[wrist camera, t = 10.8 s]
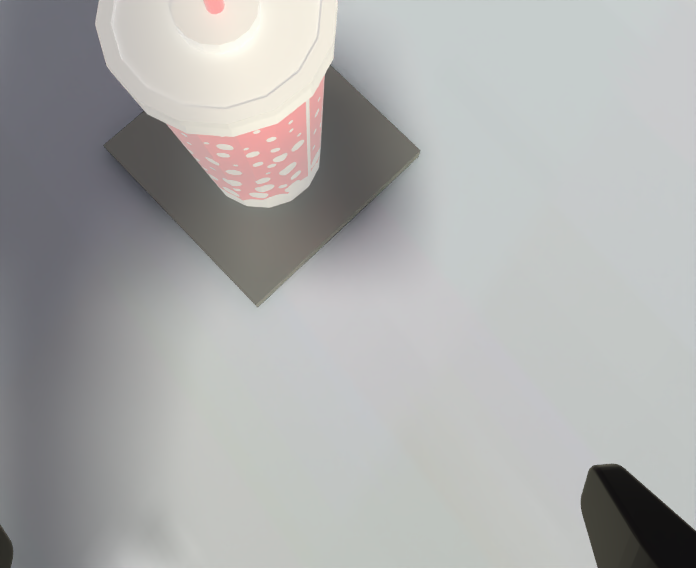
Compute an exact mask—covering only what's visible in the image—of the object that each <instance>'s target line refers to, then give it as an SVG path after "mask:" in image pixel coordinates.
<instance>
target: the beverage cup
mask: <svg viewBox="0 0 696 568" xmlns="http://www.w3.org/2000/svg"><path fill="white" fill-rule="evenodd" d="M337 9H338V0H99V3H98V9H97V15H96V21H95V26H96V30H97V34H98V37H99V41H100V44H101V48H102V51H103V55H104V58H105V62H106V65H107V67H108V69H109V70H110V71H111V73H112V74H113V75H114V76H115V77H116V78H117V80H118V81H119V82H120V83H121V84H122V85H123V87H124V88H125V89H126V90H127V91H128V92H129V94H130V95H131V96H132V97H133V98H134V99H135V100H136V102H137V103H138V104H139V105H140V106H141V107H142V109H143V110H144V111H145V112H146V113H147V114H148V115H150V116H152V117H154V118H156V119H158V120H160V121H162V122H164V123H166V124H167V125H168V127H169V128H170V129H171V130H172V132H173V133H174V134H175V135H176V136H177V138H178V139H179V140H180V141H181V142H182V144H183V145H184V146H185V147H186V148H187V150H188V151H189V152H190V153H191V154H192V156H193V157H194V158H195V159H196V160H197V162H198V163H199V164H200V165H201V167H202V168H203V169H204V170H205V171H206V173H207V174H208V175H209V176H210V177H211V179H212V180H213V181H214V182H215V183H216V184H217V186H218V187H219V188H220V189H221V190H222V191H223V193H224V194H225V195H226V196H227V197H229V198H231V199H233V200H235V201H237V202H239V203H241V204H244V205H246V206H253V207H267V208H270V207H273V206H276V205H280V204H283V203H286V202H289V201H292V200H293V199H294V198H295V197H297V196H298V195H299V194H300V193H302V192H303V191H304V190H305V189H306V188H308V187H309V185H310V183H311V181H312V180H313V178H314V176H315V174H316V172H317V170H318V168H319V161H320V149H321V133H322V115H323V97H324V79H325V73H326V71H327V69H328V68H329V66H330V64H331V62H332V60H333V57H334V45H335V34H336V22H337Z"/></svg>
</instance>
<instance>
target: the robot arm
mask: <svg viewBox="0 0 696 568" xmlns="http://www.w3.org/2000/svg"><path fill="white" fill-rule="evenodd" d="M581 510H582V515H583V518H584V522H585V525H586V529H587V532H588V536H589V539H590V543H591V546H592V549H593V553H594V556H595V560H596V563H597V567H598V568H696V531H695V530H694V529H693V528H692V527H691V526H690V525H689V524H687V523H686V522H685V521H684V520H683V519H682V518H681V517H679V516H678V515H677V514H676V513H675V512H674V511H673V510H671V509H670V508H669V507H668V506H667V505H666V504H665V503H663V502H662V501H661V500H660V499H659V498H658V497H657V496H655V495H654V494H653V493H652V492H651V491H650V490H649V489H647V488H646V487H645V486H644V485H643V484H642V483H641V482H640V481H638V480H637V479H636V478H635V477H634V476H633V475H632V474H630V473H629V472H628V471H627V470H626V469H625V468H623V467H622V466H620V465H618V464H603V465H594V466H592V467H591V468H590V469H589V471H588V475H587V478H586V482H585V485H584V489H583V492H582V496H581ZM12 559H13V546H12V542H11V540H10V539H9V537H8V536H7V534H6V533H5V531H4V529H3V528H2V526H1V525H0V568H11V564H12Z"/></svg>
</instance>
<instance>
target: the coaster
mask: <svg viewBox="0 0 696 568" xmlns="http://www.w3.org/2000/svg"><path fill="white" fill-rule="evenodd" d="M103 146H104V147H105V148H106V149H107V150H108V151H109V152H110V153H111V155H112V156H113V157H114V158H115V159H116V160H117V161H118V162H119V163H120V164H121V165H122V166H123V167H124V168H125V169H126V170H127V171H128V172H129V173H130V174H131V175H132V176H133V178H134V179H135V180H136V181H137V182H138V183H139V184H140V185H141V186H142V187H143V188H144V189H145V190H146V191H147V192H148V193H149V194H150V195H151V196H152V197H153V198H154V199H155V201H156V202H157V203H158V204H159V205H160V206H161V207H162V208H163V209H164V210H165V211H166V212H167V213H168V214H169V215H170V216H171V217H172V218H173V219H174V220H175V221H176V222H177V224H178V225H179V226H180V227H181V228H182V229H183V230H184V231H185V232H186V233H187V234H188V235H189V236H190V237H191V238H192V239H193V240H194V241H195V242H196V243H197V244H198V245H199V247H200V248H201V249H202V250H203V251H204V252H205V253H206V254H207V255H208V256H209V257H210V258H211V259H212V260H213V261H214V262H215V263H216V264H217V265H218V266H219V267H220V268H221V270H222V271H223V272H224V273H225V274H226V275H227V276H228V277H229V278H230V279H231V280H232V281H233V282H234V283H235V284H236V285H237V286H238V287H239V288H240V289H241V290H242V291H243V293H244V294H245V295H246V296H247V297H248V298H249V299H250V300H251V301H252V302H253V303H254V304H255V305H256V306H257V307H259V306H260V305H261V304H262V303H263V302H264V301H265V300H266V299H267V298H268V297H269V296H270V295H271V294H273V293H274V292H275V291H276V290H277V289H278V288H279V287H280V286H281V285H282V284H283V283H284V282H285V281H286V280H287V279H289V278H290V277H291V276H292V275H293V274H294V273H295V272H296V271H297V270H298V269H299V268H300V267H301V266H302V265H303V264H305V263H306V262H307V261H308V260H309V259H310V258H311V257H312V256H313V255H314V254H315V253H316V252H317V251H318V250H319V249H321V248H322V247H323V246H324V245H325V244H326V243H327V242H328V241H329V240H330V239H331V238H332V237H333V236H334V235H335V234H337V233H338V232H339V231H340V230H341V229H342V228H343V227H344V226H345V225H346V224H347V223H348V222H349V221H350V220H351V219H352V218H354V217H355V216H356V215H357V214H358V213H359V212H360V211H361V210H362V209H363V208H364V207H365V206H366V205H367V204H368V203H370V202H371V201H372V200H373V199H374V198H375V197H376V196H377V195H378V194H379V193H380V192H381V191H382V190H383V189H384V188H386V187H387V186H388V185H389V184H390V183H391V182H392V181H393V180H394V179H395V178H396V177H397V176H398V175H399V174H400V173H402V172H403V171H404V170H405V169H406V168H407V167H408V166H409V165H410V164H411V163H412V162H413V161H414V160H415V159H416V158H418V157H419V154H420V150H419V149H418V148H417V147H416V146H415V145H414V144H413V143H412V142H411V141H410V140H409V139H408V138H407V137H406V136H405V135H404V134H402V133H401V132H400V131H399V130H398V129H397V128H396V127H395V126H394V125H393V124H392V123H391V122H390V121H389V120H388V119H387V118H386V117H385V116H384V115H382V114H381V113H380V112H379V111H378V110H377V109H376V108H375V107H374V106H373V105H372V104H371V103H370V102H369V101H368V100H367V99H366V98H365V97H364V96H362V95H361V94H360V93H359V92H358V91H357V90H356V89H355V88H354V87H353V86H352V85H351V84H350V83H349V82H348V81H347V80H346V79H345V78H344V77H342V76H341V75H340V74H339V73H338V72H337V71H336V70H335V69H334V68H333V67H332V66H331V65H330V66H329V68H328V69H327V71H326V73H325V79H324V97H323V115H322V133H321V149H320V161H319V168H318V170H317V172H316V174H315V176H314V178H313V180H312V181H311V183H310V185H309V187H308V188H306V189H305V190H304V191H303V192H302V193H300V194H299V195H298V196H297V197H295V198H294V199H293V200H292V201H289V202H286V203H283V204H280V205H276V206H273V207H270V208H267V207H253V206H246V205H244V204H241V203H239V202H237V201H235V200H233V199H231V198H229V197H227V196H226V195H225V194H224V193H223V191H222V190H221V189H220V188H219V187H218V186H217V184H216V183H215V182H214V181H213V180H212V179H211V177H210V176H209V175H208V174H207V173H206V171H205V170H204V169H203V168H202V167H201V165H200V164H199V163H198V162H197V160H196V159H195V158H194V157H193V156H192V154H191V153H190V152H189V151H188V150H187V148H186V147H185V146H184V145H183V144H182V142H181V141H180V140H179V139H178V138H177V136H176V135H175V134H174V133H173V132H172V130H171V129H170V128H169V127H168V125H167V124H166V123H164V122H162V121H160V120H158V119H156V118H154V117H152V116H150V115H148V114H147V113H146V112H145V111H143V112H142V113H141V114H140V115H139V116H137V117H136V118H135V119H134V120H133V121H132V122H130V123H129V124H128V125H127V126H126V127H124V128H123V129H122V130H121V131H120V132H119V133H117V134H116V135H115V136H114V137H113V138H112V139H110V140H109V141H108V142H107V143H106V144H104V145H103Z"/></svg>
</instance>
